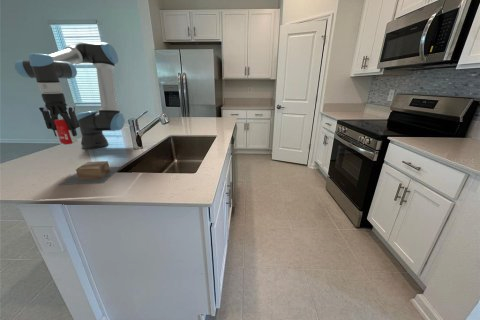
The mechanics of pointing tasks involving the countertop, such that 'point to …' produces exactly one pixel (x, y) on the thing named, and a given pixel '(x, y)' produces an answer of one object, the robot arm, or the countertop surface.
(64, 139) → the beverage can
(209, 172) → the countertop surface
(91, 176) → the base block
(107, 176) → the mat
